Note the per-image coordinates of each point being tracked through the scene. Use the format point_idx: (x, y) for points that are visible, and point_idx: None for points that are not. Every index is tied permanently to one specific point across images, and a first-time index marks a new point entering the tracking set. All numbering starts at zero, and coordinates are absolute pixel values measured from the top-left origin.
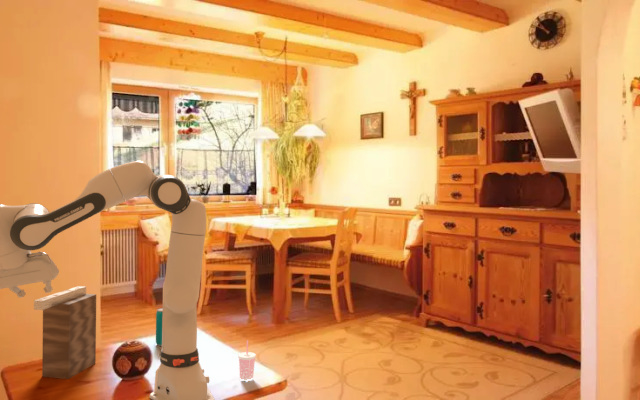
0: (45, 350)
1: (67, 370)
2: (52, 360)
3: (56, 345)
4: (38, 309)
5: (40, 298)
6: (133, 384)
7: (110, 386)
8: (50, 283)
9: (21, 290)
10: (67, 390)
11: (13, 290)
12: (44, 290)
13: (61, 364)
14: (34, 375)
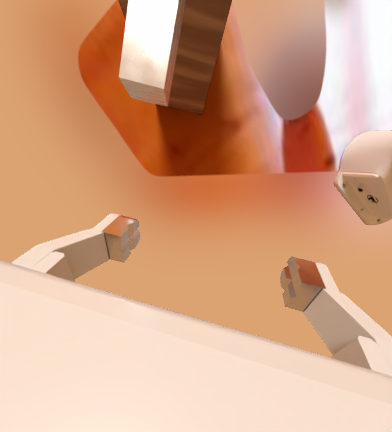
0: None
1: (201, 109)
2: (172, 94)
3: (179, 80)
4: (151, 102)
5: (128, 29)
6: (304, 135)
7: (273, 143)
8: (354, 313)
9: (112, 240)
10: (218, 160)
11: (78, 276)
12: (284, 294)
13: (190, 102)
14: None
